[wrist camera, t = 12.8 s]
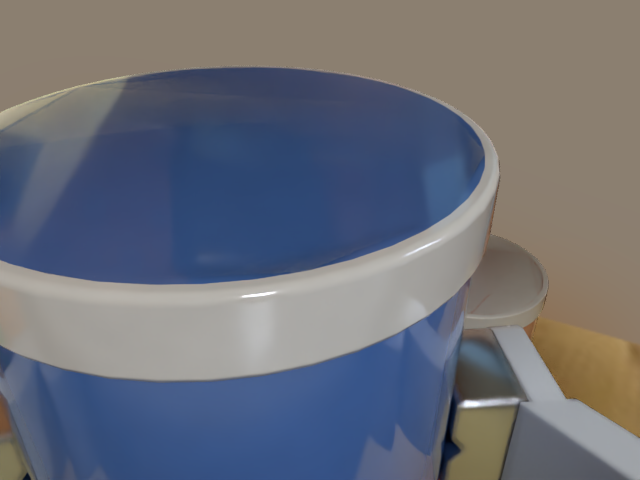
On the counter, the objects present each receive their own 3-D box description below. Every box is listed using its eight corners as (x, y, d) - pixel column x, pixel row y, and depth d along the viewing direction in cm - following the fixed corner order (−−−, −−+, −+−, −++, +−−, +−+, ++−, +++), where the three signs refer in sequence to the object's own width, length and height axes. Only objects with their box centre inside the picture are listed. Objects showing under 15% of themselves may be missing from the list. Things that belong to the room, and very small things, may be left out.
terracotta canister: (479, 396, 29) (513, 225, 24) (523, 500, 24) (578, 313, 19) (365, 405, 29) (374, 231, 24) (387, 512, 24) (405, 323, 19)
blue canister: (383, 478, 14) (423, 60, 9) (451, 796, 9) (625, 276, 4) (139, 498, 14) (31, 69, 9) (74, 842, 9) (-281, 323, 4)
